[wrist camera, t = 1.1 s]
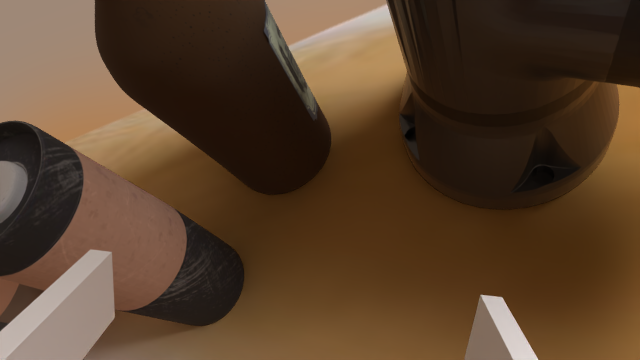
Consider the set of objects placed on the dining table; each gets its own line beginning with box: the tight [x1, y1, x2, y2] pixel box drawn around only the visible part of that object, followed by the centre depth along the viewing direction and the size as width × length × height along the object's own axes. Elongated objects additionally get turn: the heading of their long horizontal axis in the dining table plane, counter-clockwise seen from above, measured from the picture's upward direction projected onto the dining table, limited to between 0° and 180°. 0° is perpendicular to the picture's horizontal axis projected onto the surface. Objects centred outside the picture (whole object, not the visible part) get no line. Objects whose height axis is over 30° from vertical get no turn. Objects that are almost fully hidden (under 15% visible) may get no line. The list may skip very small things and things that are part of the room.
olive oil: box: [95, 0, 331, 194], centre depth 32 cm, size 11×11×25 cm
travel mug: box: [0, 121, 244, 326], centre depth 31 cm, size 8×8×20 cm
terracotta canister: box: [0, 279, 45, 323], centre depth 37 cm, size 9×9×14 cm
